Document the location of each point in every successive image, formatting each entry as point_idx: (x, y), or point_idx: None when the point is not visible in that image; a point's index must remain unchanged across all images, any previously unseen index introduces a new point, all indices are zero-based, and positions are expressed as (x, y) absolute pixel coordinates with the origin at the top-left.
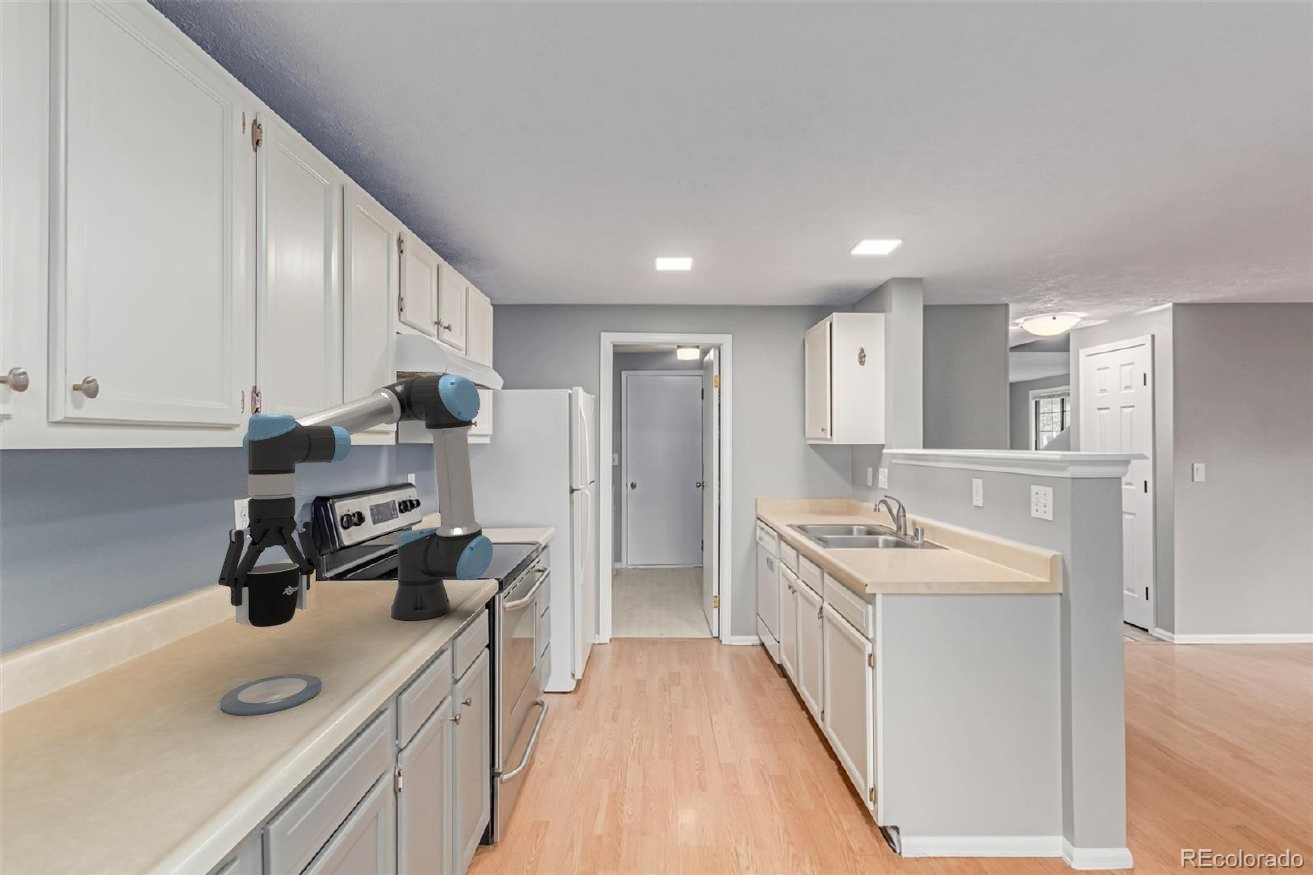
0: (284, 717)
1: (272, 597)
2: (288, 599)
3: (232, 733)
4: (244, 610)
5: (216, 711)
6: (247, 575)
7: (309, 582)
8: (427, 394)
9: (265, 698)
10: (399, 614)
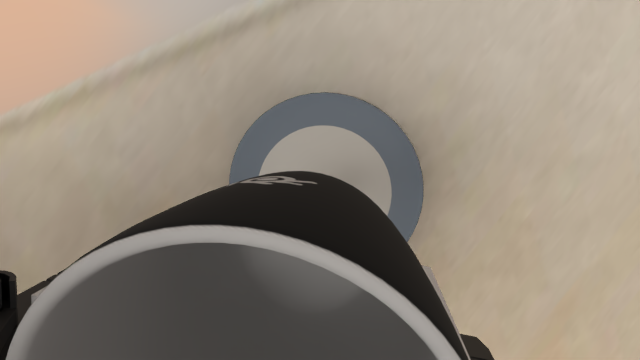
0: (396, 67)
1: (373, 207)
2: (286, 173)
3: (489, 104)
4: (440, 299)
5: (418, 233)
6: None
7: (50, 280)
8: None
9: (364, 166)
10: None
